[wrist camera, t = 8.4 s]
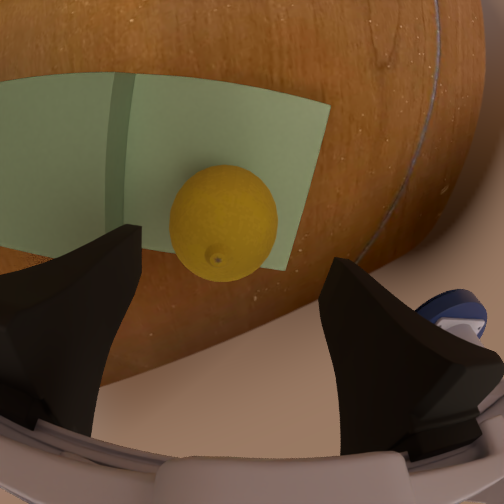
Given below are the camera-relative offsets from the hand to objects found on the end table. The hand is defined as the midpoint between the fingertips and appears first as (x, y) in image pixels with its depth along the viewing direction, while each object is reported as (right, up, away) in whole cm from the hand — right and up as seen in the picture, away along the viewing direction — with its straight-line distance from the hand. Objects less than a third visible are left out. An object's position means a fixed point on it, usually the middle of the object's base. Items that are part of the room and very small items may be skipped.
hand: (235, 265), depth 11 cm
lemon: (-1, +4, +8) cm, 9 cm away
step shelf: (-15, +8, +6) cm, 18 cm away
